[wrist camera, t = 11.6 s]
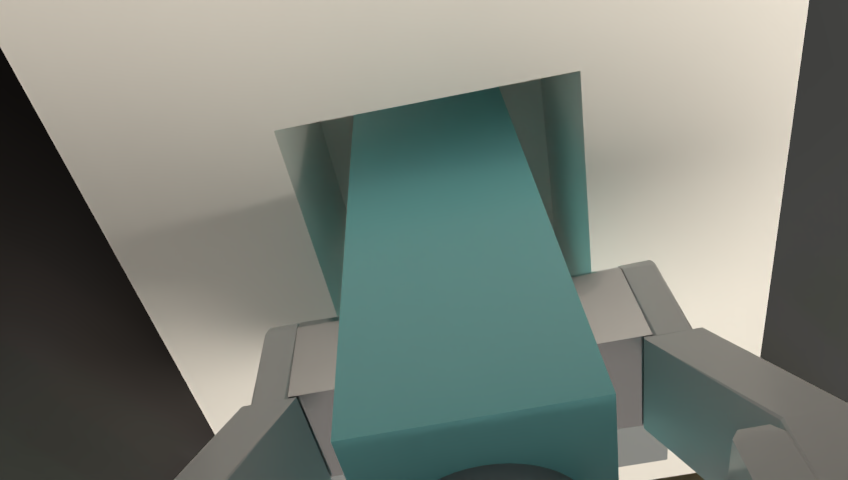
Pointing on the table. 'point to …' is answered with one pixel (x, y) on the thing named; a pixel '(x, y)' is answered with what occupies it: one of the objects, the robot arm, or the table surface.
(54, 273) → the table surface
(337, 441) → the plug
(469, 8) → the white box
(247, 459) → the robot arm
